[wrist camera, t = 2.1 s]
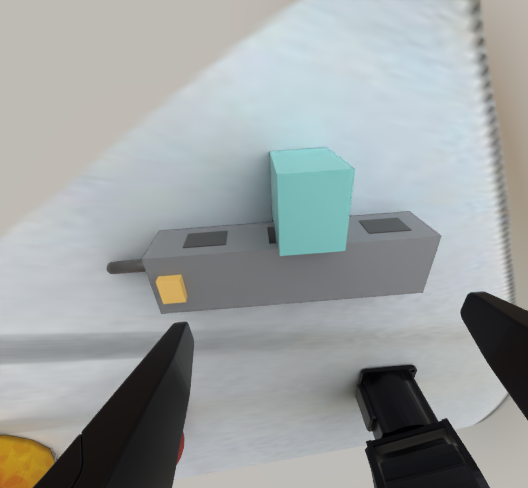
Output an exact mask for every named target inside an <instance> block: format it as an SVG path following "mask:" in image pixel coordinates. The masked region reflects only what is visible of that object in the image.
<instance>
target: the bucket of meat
mask: <svg viewBox="0 0 528 488" xmlns="http://www.w3.org/2000/svg"><path fill="white" fill-rule="evenodd" d="M54 463H55V462H54V458H53V456H52V453H51V451H50V449H49V448H47V447H45V446H43V445H41V444H39V443H37V442H35V441H33V440H30V439H25V438H20V437H15V436H10V435H0V488H32V487H33V486H34V485H35V484H36V483H37V482H38V481H39V480H40V479H41V478H42V477H43V476H44V474H45V473H46V472H47V471H48V470H49V469H50V468H51V466H52V465H53V464H54Z"/></svg>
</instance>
